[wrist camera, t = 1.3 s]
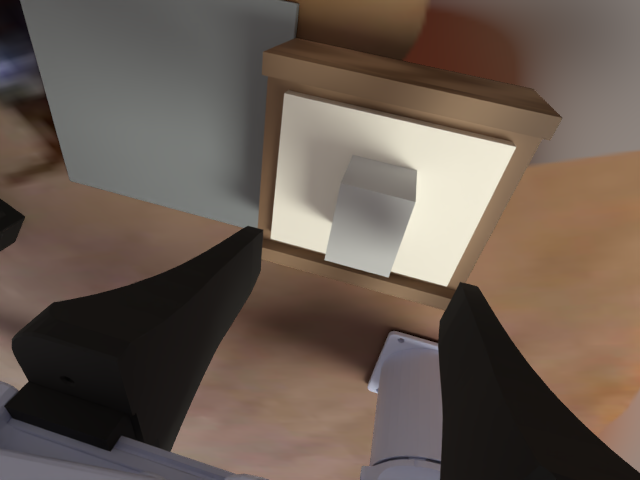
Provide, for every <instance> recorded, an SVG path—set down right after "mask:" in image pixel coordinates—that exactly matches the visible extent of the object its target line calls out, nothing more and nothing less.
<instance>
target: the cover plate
mask: <svg viewBox="0 0 640 480" xmlns="http://www.w3.org/2000/svg"><path fill="white" fill-rule="evenodd" d="M515 149H516V146H515V144H514V142H511V141H507V140H503V139H498V138H494V137H490V136H485V135H481V134H477V133H472V132H468V131H463V130H459V129H455V128H450V127H446V126H442V125H437V124H433V123H429V122H424V121H420V120H416V119H411V118H407V117H403V116H398V115H394V114H390V113H385V112H381V111H377V110H372V109H368V108H364V107H359V106H355V105H351V104H346V103H342V102H338V101H333V100H329V99H325V98H320V97H316V96H312V95H307V94H303V93H299V92H294V91H290V90H288V91H287V92H285V93H284V101H283V112H282V123H281V133H280V144H279V154H278V165H277V176H276V186H275V197H274V207H273V218H272V229H271V239H273V240H277V241H280V242H284V243H288V244H291V245H295V246H299V247H302V248H306V249H310V250H313V251H317V252H321V253H325V254H326V255H325V259H324V260H326V261H330V262H333V263H337V264H341V265H344V266H348V267H352V268H355V269H359V270H363V271H366V272H370V273H373V274H377V275H381V276H384V277H388V278H389V275H390V272H394V273H398V274H402V275H406V276H409V277H413V278H417V279H420V280H424V281H428V282H431V283H435V284H439V285H442V286H446V287H447V286H448V284H449V282H450V279H451V277H452V275H453V273H454V271H455V269H456V267H457V265H458V263H459V261H460V259H461V257H462V255H463V253H464V251H465V249H466V247H467V245H468V243H469V241H470V239H471V237H472V235H473V233H474V231H475V229H476V227H477V225H478V223H479V221H480V219H481V217H482V215H483V213H484V211H485V209H486V207H487V205H488V203H489V201H490V199H491V197H492V195H493V193H494V191H495V189H496V187H497V185H498V183H499V181H500V179H501V177H502V175H503V173H504V171H505V169H506V167H507V165H508V163H509V161H510V159H511V157H512V155H513V153H514V151H515Z"/></svg>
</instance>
